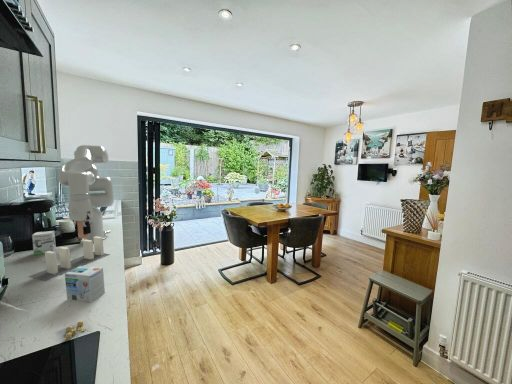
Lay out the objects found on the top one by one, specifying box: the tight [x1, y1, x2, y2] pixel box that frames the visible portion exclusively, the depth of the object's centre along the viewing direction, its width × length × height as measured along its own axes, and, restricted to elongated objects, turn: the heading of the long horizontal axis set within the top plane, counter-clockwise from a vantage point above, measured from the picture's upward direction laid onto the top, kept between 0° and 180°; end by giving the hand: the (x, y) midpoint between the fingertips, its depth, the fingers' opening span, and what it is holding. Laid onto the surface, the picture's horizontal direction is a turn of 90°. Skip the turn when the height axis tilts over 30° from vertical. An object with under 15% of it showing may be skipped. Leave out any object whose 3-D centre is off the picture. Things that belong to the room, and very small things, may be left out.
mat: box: [27, 251, 111, 282], centre depth 110 cm, size 30×12×1 cm, turn 162°
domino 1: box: [44, 251, 58, 274], centre depth 101 cm, size 2×5×10 cm, turn 72°
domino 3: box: [82, 239, 94, 259], centre depth 116 cm, size 2×5×10 cm, turn 72°
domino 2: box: [58, 246, 72, 269], centre depth 106 cm, size 2×5×10 cm, turn 72°
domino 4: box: [93, 236, 105, 255], centre depth 121 cm, size 2×5×10 cm, turn 72°
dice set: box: [64, 320, 87, 341], centre depth 67 cm, size 5×5×2 cm
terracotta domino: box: [77, 219, 89, 240], centre depth 108 cm, size 2×5×10 cm, turn 73°
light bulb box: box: [64, 265, 106, 304], centre depth 84 cm, size 11×7×11 cm, turn 82°
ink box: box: [31, 230, 57, 256], centre depth 124 cm, size 9×5×12 cm, turn 120°
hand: (83, 232), depth 108 cm, fingers closed on terracotta domino, 4 cm apart
